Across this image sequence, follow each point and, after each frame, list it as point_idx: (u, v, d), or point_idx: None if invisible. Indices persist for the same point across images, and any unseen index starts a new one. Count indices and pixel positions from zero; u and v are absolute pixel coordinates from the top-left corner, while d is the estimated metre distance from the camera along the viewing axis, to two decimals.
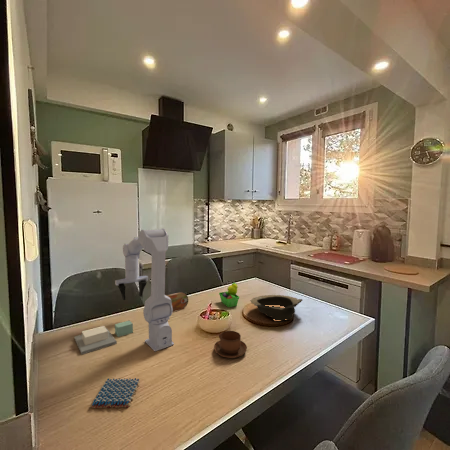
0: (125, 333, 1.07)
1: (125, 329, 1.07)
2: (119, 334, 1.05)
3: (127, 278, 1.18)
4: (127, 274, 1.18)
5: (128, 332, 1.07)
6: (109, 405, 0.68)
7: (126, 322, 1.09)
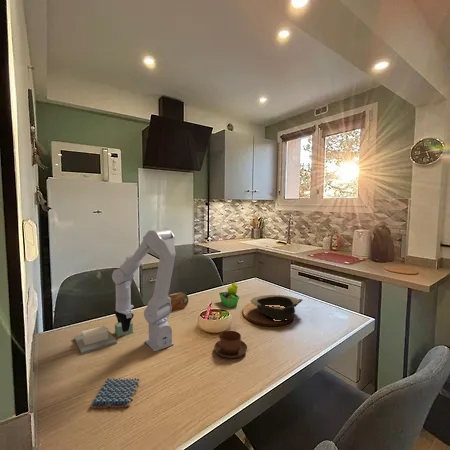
0: (125, 333, 1.07)
1: None
2: (119, 334, 1.05)
3: None
4: None
5: (128, 332, 1.07)
6: (109, 405, 0.68)
7: None
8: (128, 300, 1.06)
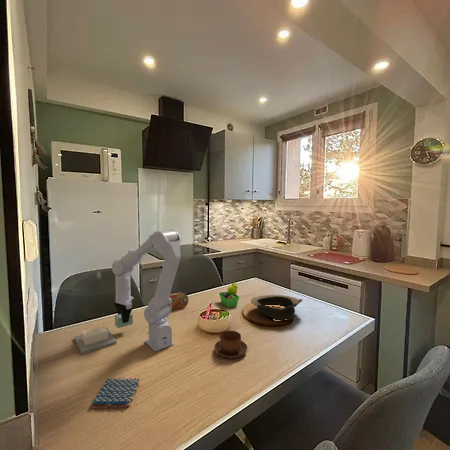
0: (125, 324, 1.06)
1: None
2: (119, 325, 1.05)
3: None
4: None
5: (128, 323, 1.07)
6: (109, 405, 0.68)
7: None
8: (128, 291, 1.06)
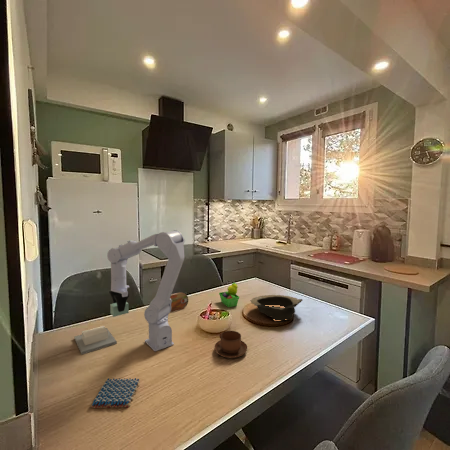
0: (121, 313, 1.05)
1: None
2: (114, 313, 1.04)
3: None
4: None
5: (124, 312, 1.06)
6: (109, 405, 0.68)
7: None
8: (124, 279, 1.05)
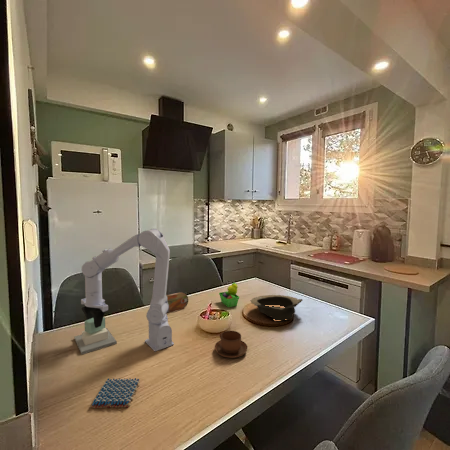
0: (98, 328, 1.00)
1: None
2: (92, 330, 0.98)
3: None
4: None
5: (101, 327, 1.01)
6: (109, 405, 0.68)
7: None
8: (100, 293, 1.00)
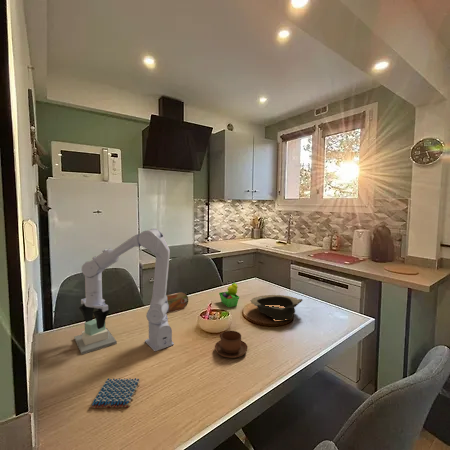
0: (98, 330, 1.00)
1: None
2: (92, 332, 0.98)
3: None
4: None
5: (101, 329, 1.01)
6: (109, 405, 0.68)
7: None
8: (100, 293, 1.00)
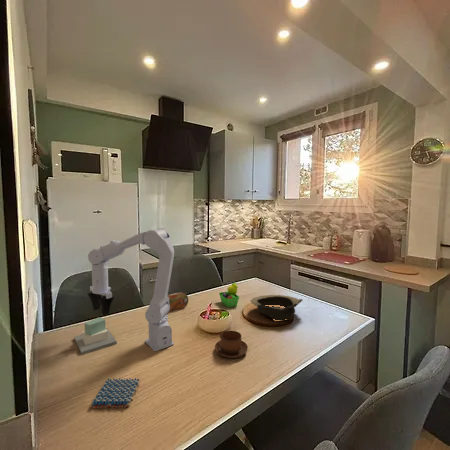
0: (98, 330, 1.00)
1: (98, 326, 1.00)
2: (92, 332, 0.98)
3: None
4: None
5: (101, 329, 1.01)
6: (109, 405, 0.68)
7: (97, 319, 1.02)
8: (106, 281, 1.02)
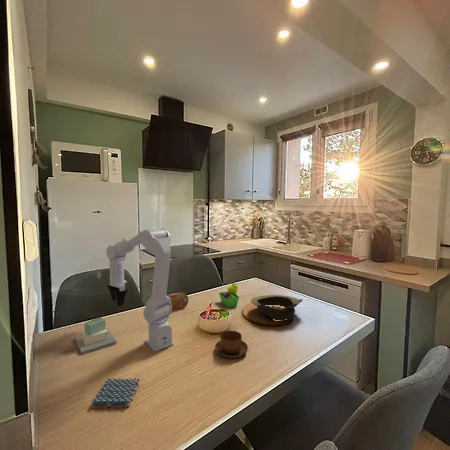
0: (98, 330, 1.00)
1: (98, 326, 1.00)
2: (92, 332, 0.98)
3: None
4: None
5: (101, 329, 1.01)
6: (109, 405, 0.68)
7: (97, 319, 1.02)
8: (121, 275, 1.12)
